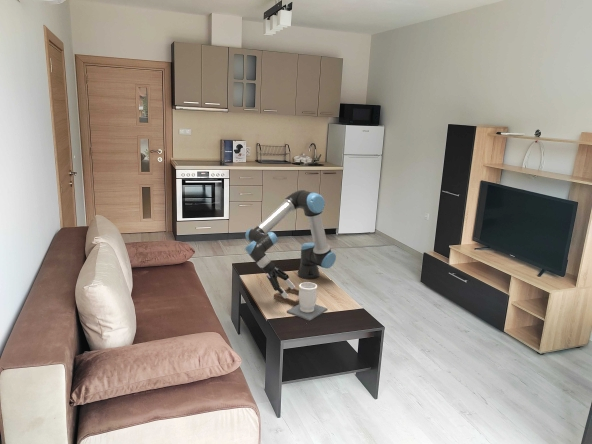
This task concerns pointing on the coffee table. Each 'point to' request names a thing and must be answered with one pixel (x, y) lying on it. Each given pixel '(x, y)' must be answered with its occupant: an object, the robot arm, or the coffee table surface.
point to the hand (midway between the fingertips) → (290, 292)
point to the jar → (307, 296)
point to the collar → (287, 300)
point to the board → (307, 316)
